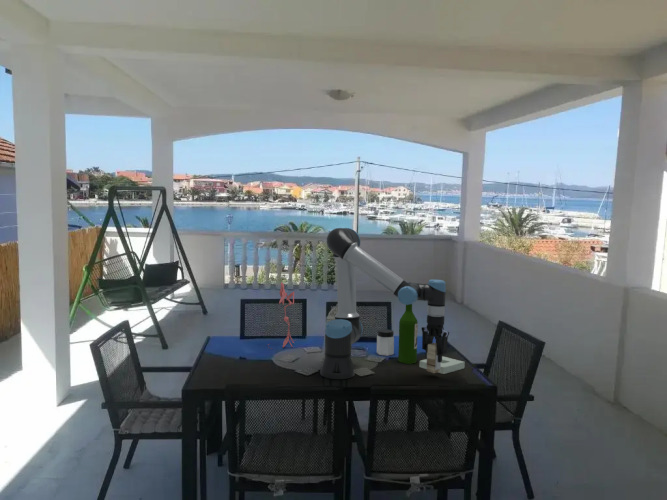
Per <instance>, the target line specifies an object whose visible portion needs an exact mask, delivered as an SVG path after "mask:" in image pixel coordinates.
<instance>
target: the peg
mask: <svg viewBox="0 0 667 500" xmlns="http://www.w3.org/2000/svg"><path fill="white" fill-rule="evenodd" d="M436 354H437V346H436V342H433V343H431V344H428V353H427V369H426V372H429V373H432V374H436V373H438V372H440V369H438V370H436V369H435V361H436Z"/></svg>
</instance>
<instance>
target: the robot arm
mask: <svg viewBox="0 0 667 500" xmlns="http://www.w3.org/2000/svg"><path fill="white" fill-rule="evenodd" d="M326 246H327V248H328V249H329V251H330V252H332V255H333V257H332V258H333V259H334V260H335V261H336V280H337V281H336V282H337V283H336V284H337V286H336V287H337V288H336V289H337V313H336V314H335V315H334V319H332V320H329V321H328V322H326V324H325V328H324V358H323V362H322V365H321V367H320V372H319V373H320V376H322V377H323V378H326V379H330V380H331V379H332V380H345V379H351V378H354V377H355V375H356V373H355V367H354V363H353V360H352V345H353V344H354V343H356V342H358V341H359V339H360V338H361V337H362V334H363V331H364V330H363V325H362V322H361V321H360V319H361V316H360V313H358V312H357V285H356V283H357V282H356V268H357V269H359V270H360V271H361V272H363V273H364V274H366V276H368V277H370V278H371V279H372V280H374V281H375V282H376V283H378V285H380V286H382V287H383V288H384V289H385V290H387V291H388V292H389V293H391V294H393V295H394V296H395V297H396V298H397V299H398V301H399V303H401V304H403V305H405V306H406V305H409V304H412V305H413V304H414V303H416V301H421V302H422V301H425V302H427V305H426V306H427V307H426V313H427V315H426V324H427V325H426V326H422V327H421V332H422V333H421V335H422V336H421V337H422V339H421V341H422V343H421V345H422V346H421V348H422V350H424V351H425V359H427V353H428V344H431V343H434V342H433V341H434V340H435V344H436V346H437V354H436V361H435V369H436V370H438V369H440V365H441V362H442V356H443V355H446V354H447V351H448V339H449V335H450V332H449V331H446V330H445V329H444V328H445V327H444V326H445V312H446V311H445V310H446V306H445V305H446V292H447V290H446V288H447V286H446V285H447V283H446V281H445V280H443V279H429V280H428V283H421V282H419V283H418V282H417V283H416V282H410V281H409V282H407V281H406V280H404V279H403V278H402V277H400V276H399V275H397V273H395V272H393V271H392V270H391V269H389V268H388V267H387V266H386V265H384V264H383V263H381V262H380V261H379V260H377V259H376V258H374V257H373V256H372V255H370V254H369V253H368V252H366V251H365V250H364V249H362V248H361V247H360V246H361V238H360V235H359V233H358V232H357V231H355V230H354V229H352V228H349V227H348V228H347V227H344V228H343V227H336V228H333V229H332V230H331V231H329V233H328V234H327V237H326ZM426 367H427V364H426Z"/></svg>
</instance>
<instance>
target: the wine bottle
mask: <svg viewBox="0 0 667 500" xmlns="http://www.w3.org/2000/svg"><path fill="white" fill-rule="evenodd" d="M398 324H399V325H398V327H399V328H398V353H397V354H398V357H397V360H398V363H401V364H406V365H408V364H409V365H412V364H413V363H414V364H416V363H417V360H418V359H417V357H418V332H419V331H418V329H419V328H418V327H419V325H418V324H419V323H418V319H417V317H416V315H415V314H414V311H413V304H409V305H405V310H404V313H403V314H402V315H401V317H400V318H399V322H398Z"/></svg>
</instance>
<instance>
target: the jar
mask: <svg viewBox="0 0 667 500" xmlns="http://www.w3.org/2000/svg"><path fill="white" fill-rule="evenodd" d="M394 350H395V336H394V330H392V329H381V328H380V329H378V330H377V335H376V354H377V355H379V356H387V357H388V356H393V355H394V354H395V353H394V352H395V351H394Z"/></svg>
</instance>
